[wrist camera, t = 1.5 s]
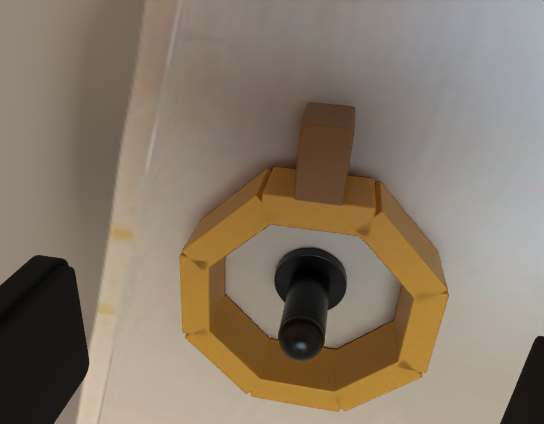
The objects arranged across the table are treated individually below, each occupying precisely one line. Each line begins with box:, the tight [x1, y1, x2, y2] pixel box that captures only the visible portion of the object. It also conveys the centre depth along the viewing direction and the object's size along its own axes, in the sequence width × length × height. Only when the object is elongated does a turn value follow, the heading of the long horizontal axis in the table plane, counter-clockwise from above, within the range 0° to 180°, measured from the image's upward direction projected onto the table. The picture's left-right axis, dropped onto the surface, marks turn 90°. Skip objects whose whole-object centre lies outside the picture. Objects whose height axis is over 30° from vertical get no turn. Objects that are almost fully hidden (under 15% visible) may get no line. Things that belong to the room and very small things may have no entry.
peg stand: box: [275, 248, 347, 361], centre depth 22 cm, size 4×4×5 cm
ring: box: [180, 103, 449, 412], centre depth 22 cm, size 15×12×3 cm
